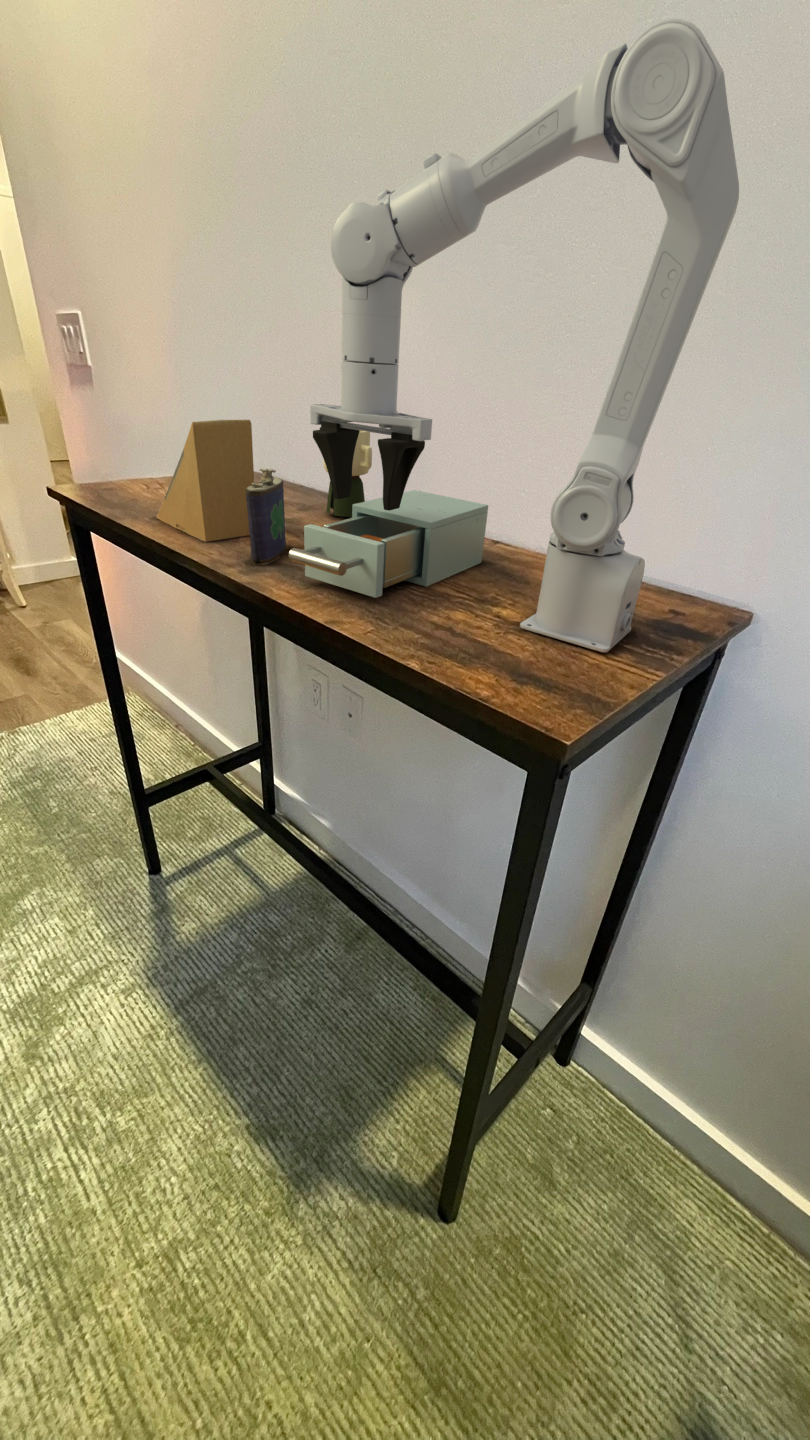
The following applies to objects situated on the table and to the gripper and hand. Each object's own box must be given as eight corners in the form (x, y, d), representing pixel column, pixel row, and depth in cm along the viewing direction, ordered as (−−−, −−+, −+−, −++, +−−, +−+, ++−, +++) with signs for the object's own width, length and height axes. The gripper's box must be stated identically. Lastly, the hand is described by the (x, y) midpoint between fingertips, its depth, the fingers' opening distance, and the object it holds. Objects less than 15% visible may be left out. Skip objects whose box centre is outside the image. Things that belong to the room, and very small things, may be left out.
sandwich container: (206, 511, 100) (196, 406, 93) (259, 533, 91) (252, 419, 83) (154, 517, 95) (138, 407, 87) (204, 542, 86) (191, 420, 78)
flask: (271, 544, 87) (267, 461, 81) (291, 546, 87) (289, 463, 81) (247, 564, 79) (241, 473, 73) (269, 566, 79) (265, 476, 73)
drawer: (350, 608, 66) (351, 553, 63) (278, 584, 71) (276, 532, 68) (437, 572, 78) (441, 524, 75) (370, 554, 83) (371, 508, 80)
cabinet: (426, 587, 76) (431, 522, 72) (351, 565, 81) (352, 504, 77) (481, 562, 85) (488, 504, 82) (411, 545, 91) (414, 489, 87)
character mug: (307, 511, 104) (306, 425, 97) (340, 506, 109) (340, 423, 102) (352, 526, 98) (353, 434, 91) (384, 519, 102) (388, 432, 96)
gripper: (452, 368, 63) (440, 509, 70) (340, 358, 69) (339, 487, 76) (412, 368, 58) (403, 519, 65) (295, 356, 64) (298, 495, 71)
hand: (366, 503), depth 70 cm, fingers open, 6 cm apart
